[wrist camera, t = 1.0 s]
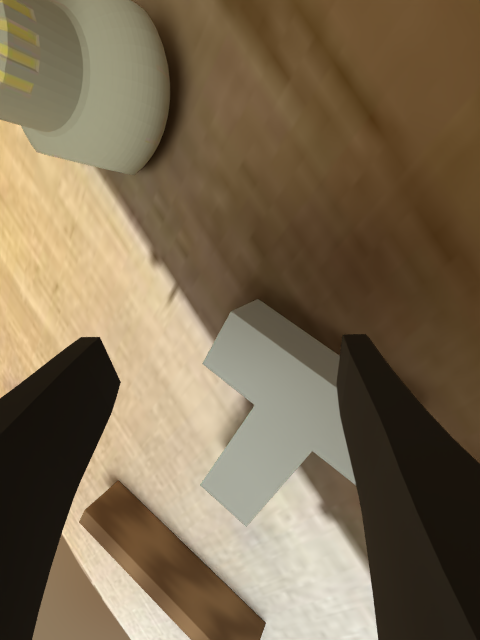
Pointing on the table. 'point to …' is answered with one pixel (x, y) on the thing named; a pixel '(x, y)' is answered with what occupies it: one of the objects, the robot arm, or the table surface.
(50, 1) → the air freshener
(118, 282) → the table surface
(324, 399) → the T block
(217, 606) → the bar
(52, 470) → the robot arm
